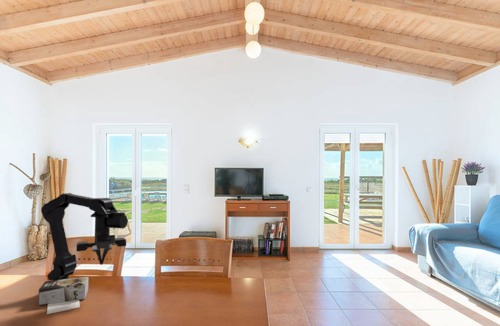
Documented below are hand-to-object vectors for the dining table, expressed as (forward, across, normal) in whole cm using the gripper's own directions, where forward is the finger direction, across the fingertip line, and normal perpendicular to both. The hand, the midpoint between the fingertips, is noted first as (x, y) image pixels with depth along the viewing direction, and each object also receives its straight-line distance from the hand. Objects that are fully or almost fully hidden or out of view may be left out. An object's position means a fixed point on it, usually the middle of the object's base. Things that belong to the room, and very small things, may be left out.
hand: (101, 264), depth 124 cm
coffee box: (+10, -5, +3) cm, 11 cm away
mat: (+13, -13, -2) cm, 19 cm away
